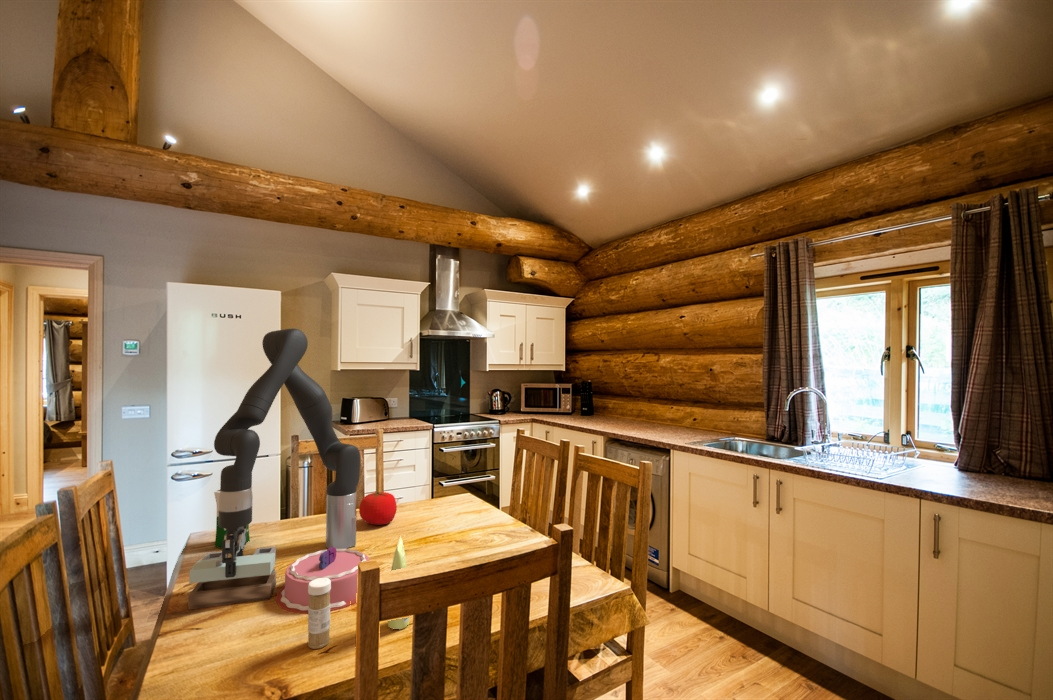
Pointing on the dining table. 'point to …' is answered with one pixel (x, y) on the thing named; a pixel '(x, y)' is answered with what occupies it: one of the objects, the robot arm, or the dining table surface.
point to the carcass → (232, 591)
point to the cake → (322, 565)
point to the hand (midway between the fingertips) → (234, 570)
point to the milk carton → (222, 531)
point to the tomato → (378, 508)
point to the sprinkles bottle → (319, 613)
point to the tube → (397, 563)
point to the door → (245, 566)
